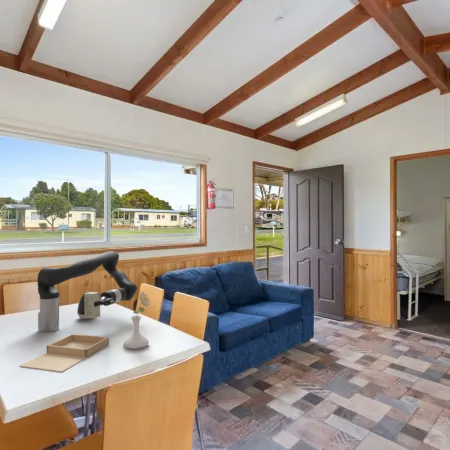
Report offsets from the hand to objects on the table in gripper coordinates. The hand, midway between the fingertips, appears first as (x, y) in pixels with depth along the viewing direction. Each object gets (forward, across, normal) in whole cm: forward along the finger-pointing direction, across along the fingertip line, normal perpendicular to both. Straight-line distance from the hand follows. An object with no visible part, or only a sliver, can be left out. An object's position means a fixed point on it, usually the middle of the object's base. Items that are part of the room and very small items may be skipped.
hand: (88, 304), depth 163 cm
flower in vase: (0, -28, -18) cm, 33 cm away
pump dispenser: (-29, +28, -17) cm, 44 cm away
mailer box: (+19, -6, -17) cm, 26 cm away
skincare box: (-2, 0, -7) cm, 8 cm away
